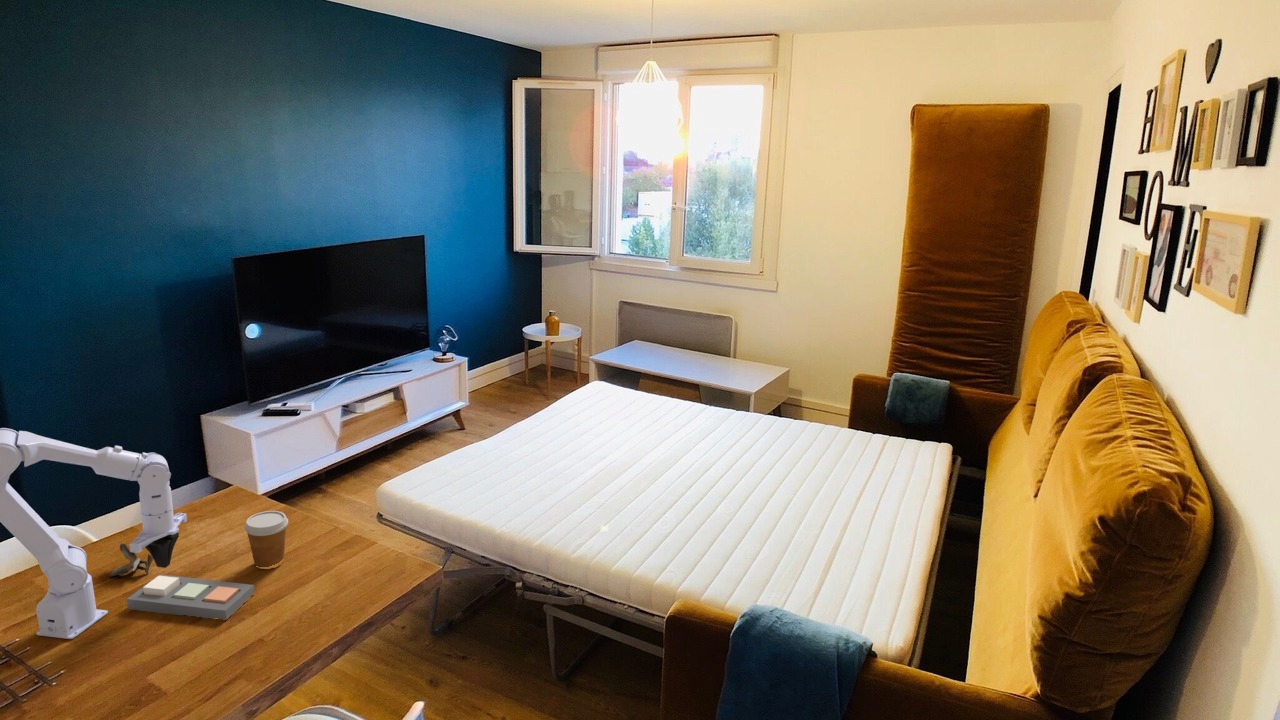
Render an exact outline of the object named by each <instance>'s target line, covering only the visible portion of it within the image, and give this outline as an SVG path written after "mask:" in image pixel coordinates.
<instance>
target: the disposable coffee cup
mask: <svg viewBox="0 0 1280 720" xmlns="http://www.w3.org/2000/svg"><path fill="white" fill-rule="evenodd" d="M288 524H289V518H287V516H286V513H284V512H283V511H277V510H266V511H260V512H257V513H254V514H252V515H250V517H248V518H247V519H246V521H245V524H244V530H245V532H246V533H247V538H248V542H249V545H250V550H251V553H252V559H253V562H254V566H255V565H256V566H258V567H269V566H272V565H275V564H277V563H279V562H280V561H281V560H282V559H283V558H284V559H285V549H286V535H287V526H288Z"/></svg>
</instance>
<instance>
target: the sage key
mask: <svg viewBox="0 0 1280 720" xmlns="http://www.w3.org/2000/svg"><path fill="white" fill-rule="evenodd" d="M208 589H209V585H203V584H195V583H188V584H187V585H185V586H184V587H183V588H182V589H180V590H179V591H178V592H177V593H175V594H174V598H179V599H188V600H196V599H197V598H199V597H200V596H201V595H202V594H203V593H205V592H206V591H207V590H208Z"/></svg>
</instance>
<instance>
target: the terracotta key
mask: <svg viewBox="0 0 1280 720" xmlns="http://www.w3.org/2000/svg"><path fill="white" fill-rule="evenodd" d="M238 592H239V589H238V588H229V587H221V586H218V587H217V588H216V589H214V590H213V591H212V592H211V593H210V594H208V595H207V596H206V597H205V598H204V601H205V602H213V603H222V604H226V603H227V602H228V601H229V600H231V599H232V598H233V597H234V596H235V595H236V594H237V593H238Z"/></svg>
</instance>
